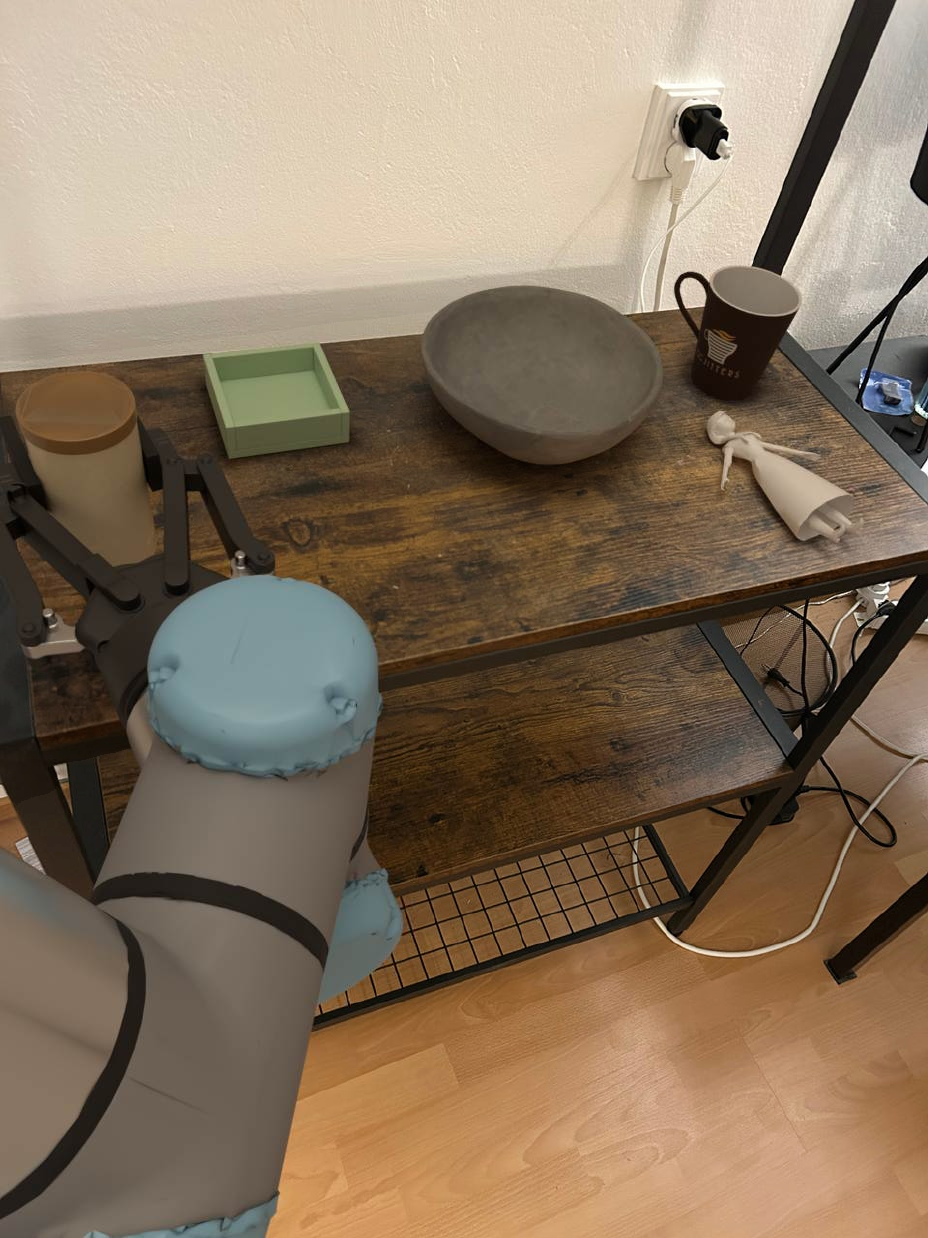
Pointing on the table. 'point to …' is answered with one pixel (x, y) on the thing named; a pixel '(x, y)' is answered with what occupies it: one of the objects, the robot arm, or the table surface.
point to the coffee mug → (738, 327)
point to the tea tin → (90, 462)
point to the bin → (275, 399)
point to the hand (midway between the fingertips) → (66, 422)
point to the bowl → (541, 371)
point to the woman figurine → (787, 483)
